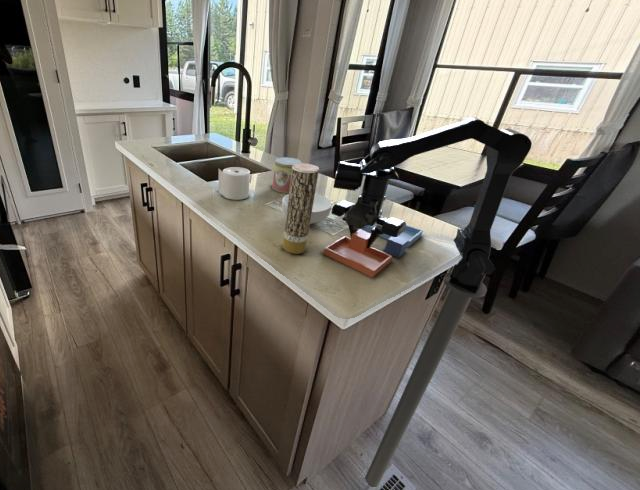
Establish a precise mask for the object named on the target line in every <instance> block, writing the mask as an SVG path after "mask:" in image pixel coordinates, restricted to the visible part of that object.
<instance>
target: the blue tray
mask: <svg viewBox="0 0 640 490" xmlns="http://www.w3.org/2000/svg"><path fill="white" fill-rule="evenodd" d="M379 217H380V218H384V219H387V220H388V219H389V218H388V217H385V216H383V215H380V216H379ZM375 225H376V224H375V223H374V225H373V226H369V225H367V226H365V227H364V228H362V229H361V230H363V231H366V232H368V233H371V230H372V229H373V228H375V227H376V226H375ZM423 232H424V230H423V229H419V228H416V227H414V226H410V225H408V224H406V228H405V231H404V232H403V233H401V234H400V235H399V237H402V238H404V239H407V240H409V241H408V244H407V247H406V248H409V247H410V246H411V245H413V244H414V243H415V242H416V241H417V240H418V239H420V238H421V237H422V235H423ZM378 237H380V238H383V239H385V240H387V241H388V239H389V238H390V237H392V236H389V235H387V234H382V235H379V236H378Z"/></svg>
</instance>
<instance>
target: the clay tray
mask: <svg viewBox="0 0 640 490" xmlns="http://www.w3.org/2000/svg"><path fill="white" fill-rule="evenodd" d="M350 240H351V237H349V236H347V235H343V236H341V238H338V239H337V240H335V241H333V242H332V243H330V244H329V245H327V246H325V247H324V249H323V255H325V256H327V257H328V258H331V259H333V260H335V261H336V262H337V261H338V262H339V263H341V264H343V265H345V266H348V267H349V268H352V269H353V270H355V271H358V272H360V273H362V274H364V275H367V276H368V277H371V278H374V277H375V276H377V274H379V273H380V272H381V271H382V270H383V269H384V268H386V267H387V266H388V265H389V264H390V263H391V262H392V259H393V255H391V254H388V253H386V252H384V251H382V250H380V249H377V248H375V247H373V246H371V248H370V249H368V250H367V251H366V252H364V253H361V252H358V251H356V250H354V249H352V248H349V244H350Z"/></svg>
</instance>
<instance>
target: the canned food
mask: <svg viewBox="0 0 640 490" xmlns="http://www.w3.org/2000/svg"><path fill="white" fill-rule="evenodd" d="M297 163H303V161H302V160H301V159H299V158H296V157H289V156H281V157H276V158H275V159H274V167H273V177H272V185H271V188H272V189H273V190H274V191H276V192H279V193H283V194H289V191H290V183H291V175H292V167H293V165H294V164H297Z"/></svg>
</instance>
